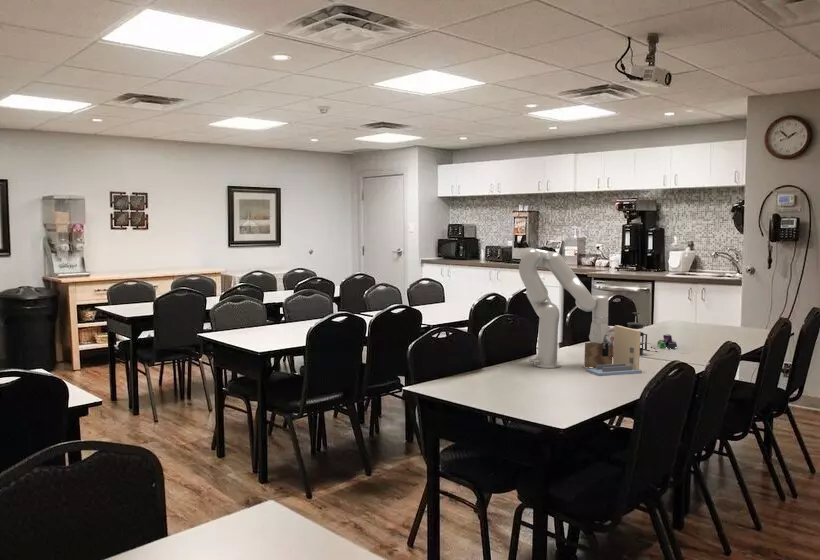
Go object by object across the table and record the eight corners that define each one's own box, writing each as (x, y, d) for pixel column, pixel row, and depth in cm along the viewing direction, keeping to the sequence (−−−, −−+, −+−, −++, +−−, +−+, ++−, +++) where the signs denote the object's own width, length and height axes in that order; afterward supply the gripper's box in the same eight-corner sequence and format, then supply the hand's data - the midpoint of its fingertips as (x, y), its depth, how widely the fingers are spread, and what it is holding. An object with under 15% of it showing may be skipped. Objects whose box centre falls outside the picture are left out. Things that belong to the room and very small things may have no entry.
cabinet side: (598, 375, 305) (599, 333, 304) (574, 367, 324) (576, 327, 323) (641, 373, 313) (643, 331, 311) (616, 364, 332) (617, 325, 330)
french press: (621, 354, 360) (623, 312, 358) (628, 351, 367) (629, 310, 365) (642, 356, 352) (644, 314, 351) (649, 354, 360) (650, 312, 358)
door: (587, 368, 322) (588, 344, 322) (584, 366, 325) (585, 343, 324) (613, 366, 327) (614, 342, 326) (609, 365, 330) (610, 341, 329)
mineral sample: (692, 356, 358) (693, 339, 357) (626, 348, 376) (627, 333, 376) (701, 350, 387) (702, 335, 387) (640, 344, 405) (640, 329, 405)
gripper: (583, 318, 331) (583, 351, 333) (603, 323, 315) (603, 358, 316) (596, 317, 334) (596, 350, 335) (617, 322, 317) (616, 357, 318)
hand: (599, 354), depth 326 cm, fingers open, 9 cm apart
